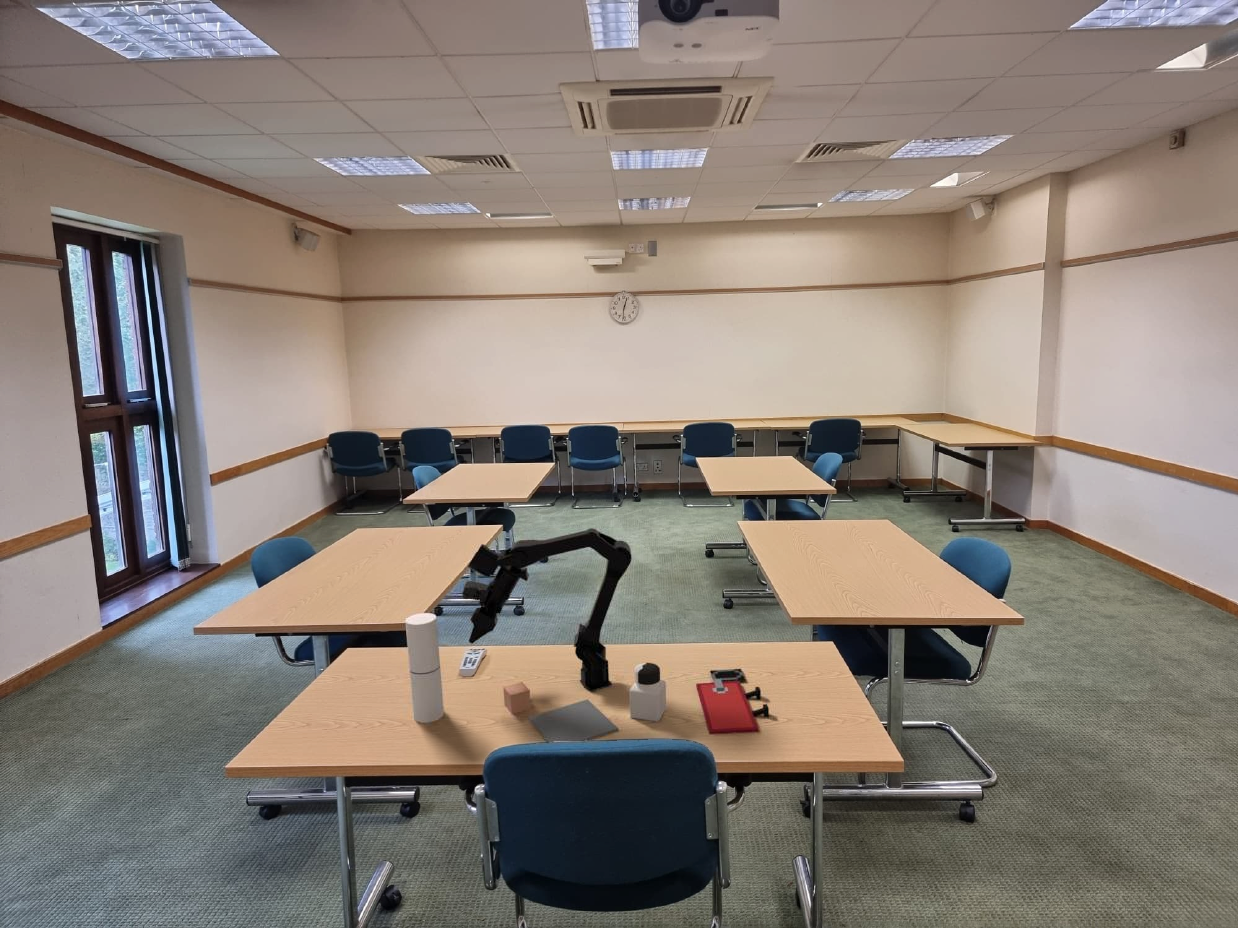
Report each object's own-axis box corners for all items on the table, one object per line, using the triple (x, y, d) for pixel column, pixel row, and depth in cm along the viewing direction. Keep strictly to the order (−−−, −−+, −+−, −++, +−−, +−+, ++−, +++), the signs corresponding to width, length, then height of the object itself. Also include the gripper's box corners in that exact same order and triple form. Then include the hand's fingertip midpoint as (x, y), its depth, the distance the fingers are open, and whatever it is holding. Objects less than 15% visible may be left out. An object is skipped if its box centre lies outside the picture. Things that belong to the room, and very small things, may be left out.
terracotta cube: (523, 700, 178) (522, 681, 178) (530, 708, 174) (529, 689, 173) (504, 705, 176) (503, 686, 175) (511, 714, 172) (510, 695, 171)
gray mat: (587, 700, 177) (587, 699, 177) (618, 730, 163) (618, 728, 163) (528, 719, 169) (528, 717, 169) (555, 751, 155) (555, 749, 155)
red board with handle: (747, 671, 190) (692, 674, 190) (747, 661, 189) (692, 665, 189) (775, 733, 160) (709, 737, 160) (775, 722, 160) (709, 726, 160)
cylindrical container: (417, 725, 168) (408, 626, 163) (411, 712, 174) (402, 616, 170) (447, 717, 171) (439, 620, 167) (440, 704, 177) (432, 610, 173)
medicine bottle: (666, 707, 172) (665, 661, 170) (658, 722, 166) (657, 674, 164) (638, 703, 175) (637, 658, 173) (629, 717, 168) (628, 671, 166)
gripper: (481, 559, 189) (454, 607, 191) (468, 582, 171) (437, 635, 173) (517, 579, 190) (490, 626, 192) (508, 604, 172) (477, 656, 174)
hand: (473, 635), depth 183 cm, fingers open, 9 cm apart
